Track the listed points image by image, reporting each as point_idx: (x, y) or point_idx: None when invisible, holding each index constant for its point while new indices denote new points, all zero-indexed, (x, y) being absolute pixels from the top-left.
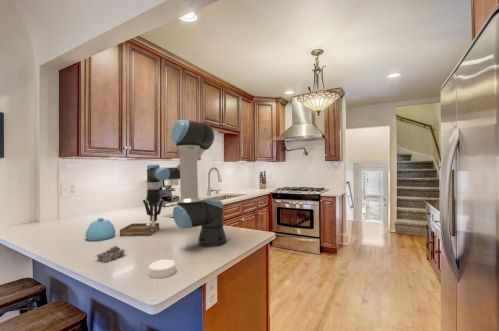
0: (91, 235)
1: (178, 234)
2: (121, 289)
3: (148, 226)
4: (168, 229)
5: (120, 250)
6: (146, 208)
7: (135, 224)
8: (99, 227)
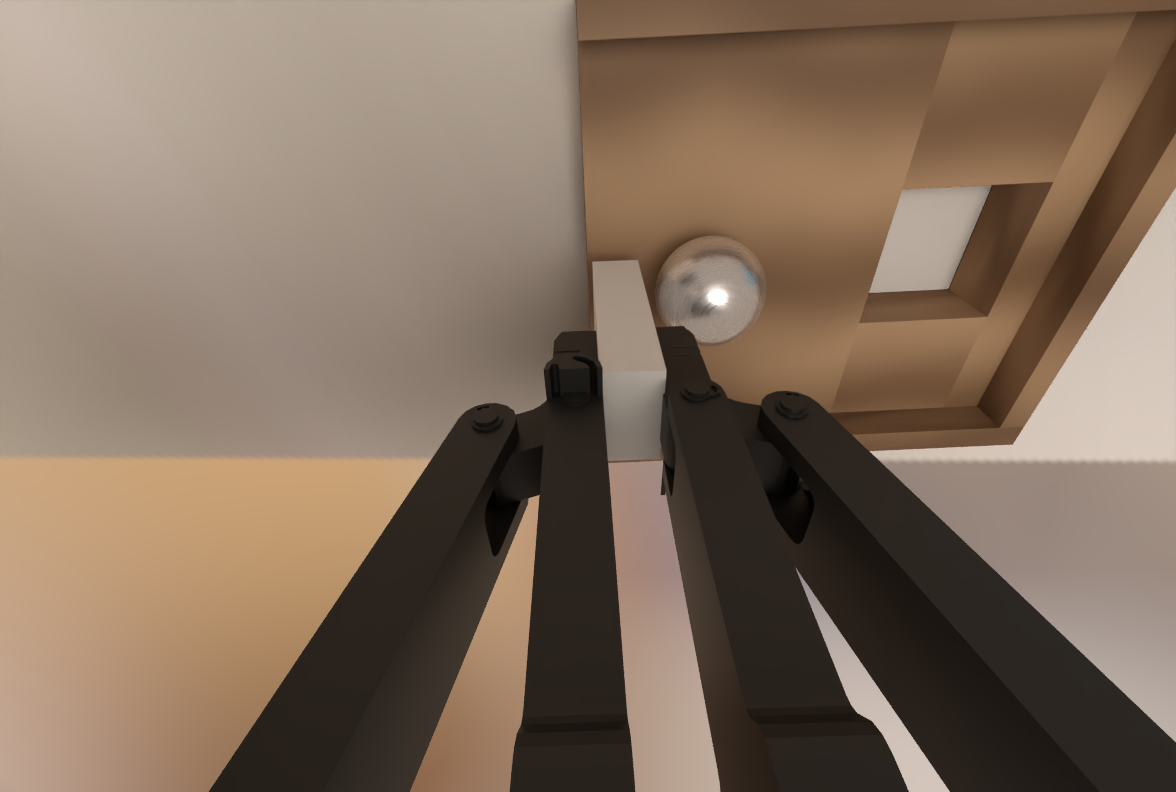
0: None
1: (95, 104)
2: None
3: (695, 242)
4: (460, 392)
5: None
6: (937, 555)
7: (949, 423)
8: None
